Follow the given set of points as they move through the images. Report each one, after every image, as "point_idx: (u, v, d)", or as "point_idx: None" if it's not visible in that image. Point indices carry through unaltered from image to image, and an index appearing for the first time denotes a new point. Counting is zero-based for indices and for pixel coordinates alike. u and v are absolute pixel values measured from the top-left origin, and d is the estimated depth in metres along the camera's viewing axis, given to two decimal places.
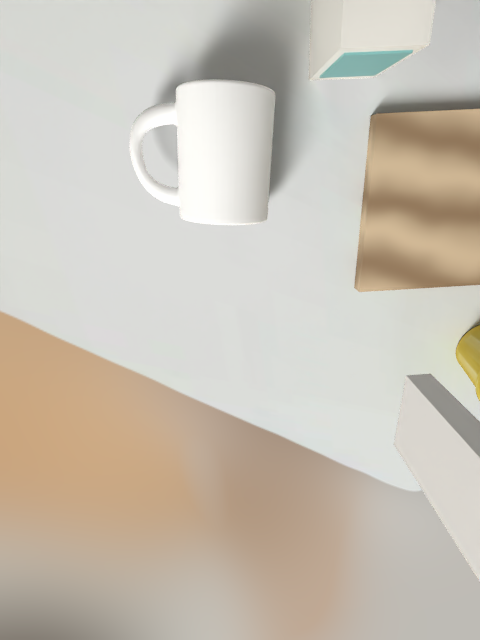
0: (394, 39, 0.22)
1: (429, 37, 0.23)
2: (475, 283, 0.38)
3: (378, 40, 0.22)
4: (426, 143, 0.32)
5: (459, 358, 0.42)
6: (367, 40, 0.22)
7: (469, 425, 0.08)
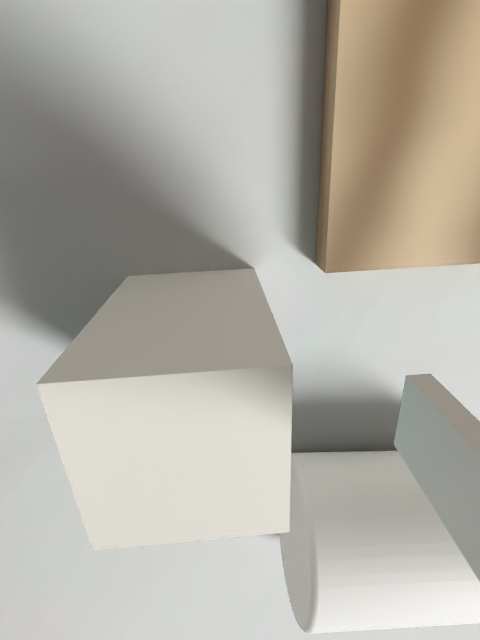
0: (278, 444, 0.09)
1: (276, 369, 0.08)
2: None
3: (278, 473, 0.10)
4: (398, 144, 0.13)
5: None
6: (277, 492, 0.10)
7: (469, 425, 0.08)
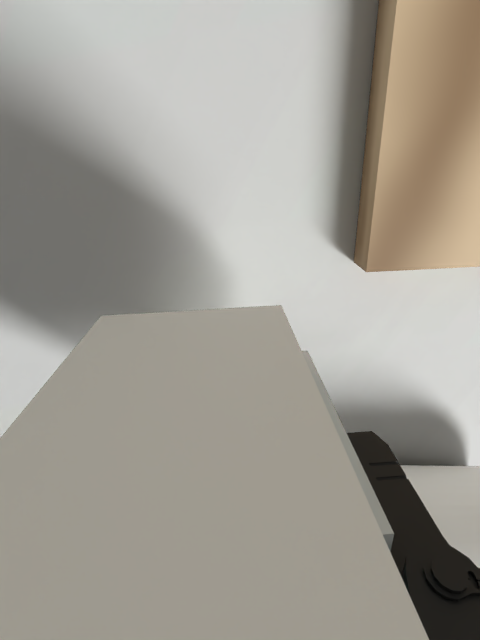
0: None
1: None
2: None
3: None
4: (459, 124, 0.11)
5: None
6: None
7: None
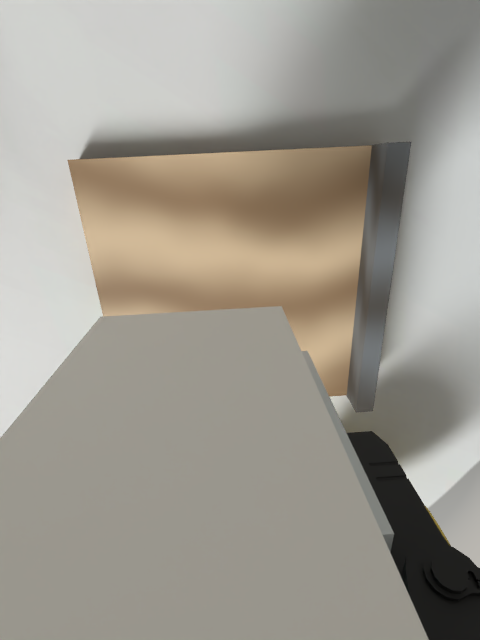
0: None
1: None
2: None
3: None
4: (165, 205, 0.20)
5: None
6: None
7: None
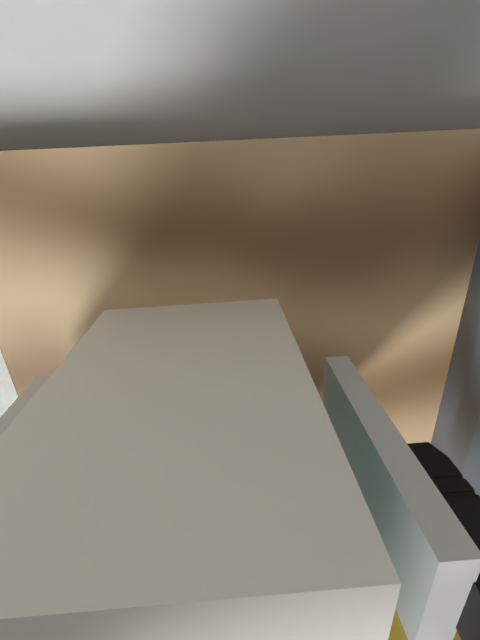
0: None
1: (365, 591, 0.04)
2: None
3: None
4: (120, 237, 0.11)
5: None
6: None
7: (363, 397, 0.09)
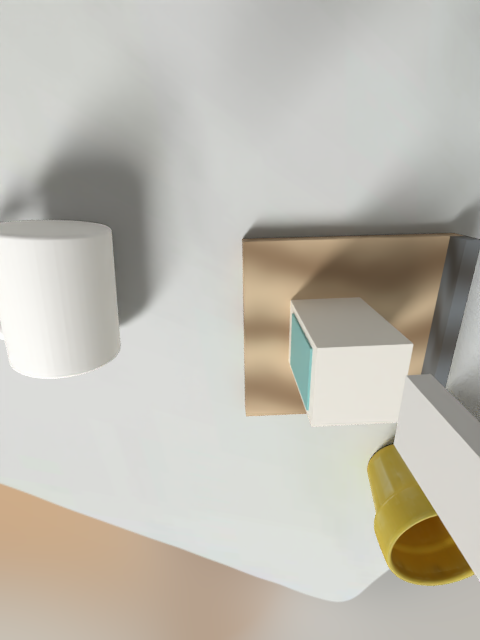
0: (401, 378, 0.22)
1: (407, 345, 0.21)
2: None
3: (399, 391, 0.22)
4: (303, 271, 0.28)
5: (369, 479, 0.38)
6: (397, 401, 0.23)
7: (469, 425, 0.08)
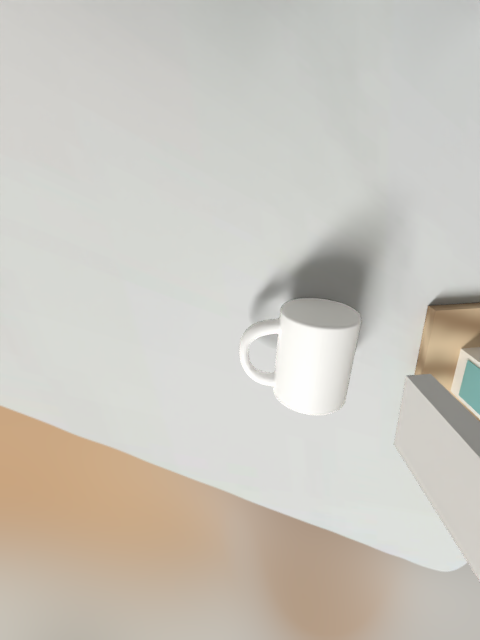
0: None
1: None
2: None
3: None
4: (474, 329, 0.39)
5: None
6: None
7: (469, 425, 0.08)
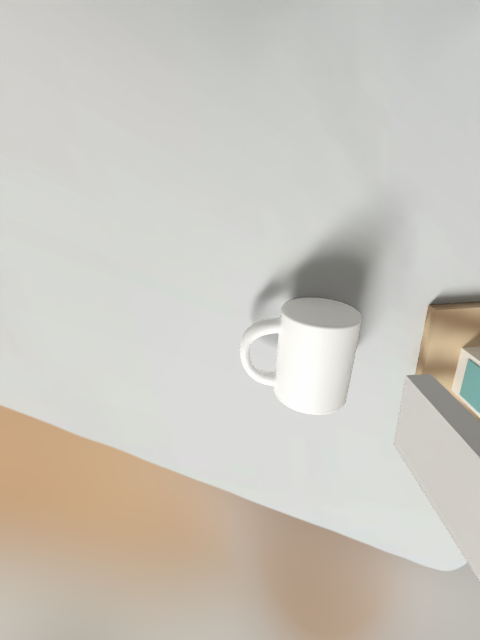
0: None
1: None
2: None
3: None
4: (474, 328, 0.39)
5: None
6: None
7: (469, 425, 0.08)
